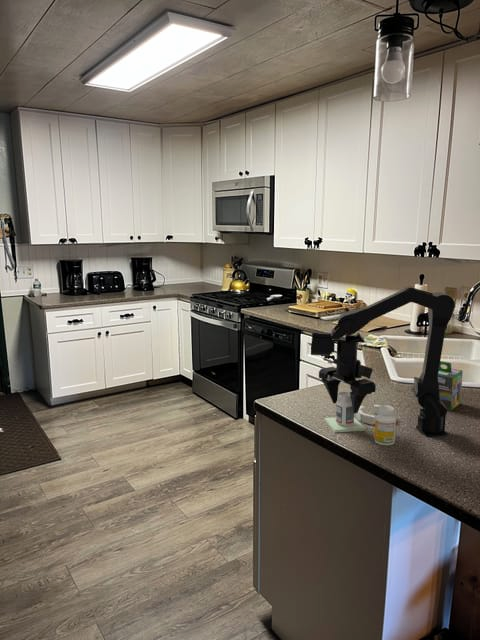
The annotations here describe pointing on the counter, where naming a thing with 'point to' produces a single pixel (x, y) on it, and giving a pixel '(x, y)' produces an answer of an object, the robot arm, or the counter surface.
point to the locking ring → (367, 415)
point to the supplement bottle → (385, 426)
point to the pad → (341, 428)
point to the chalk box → (450, 385)
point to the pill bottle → (344, 410)
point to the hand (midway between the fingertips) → (344, 408)
